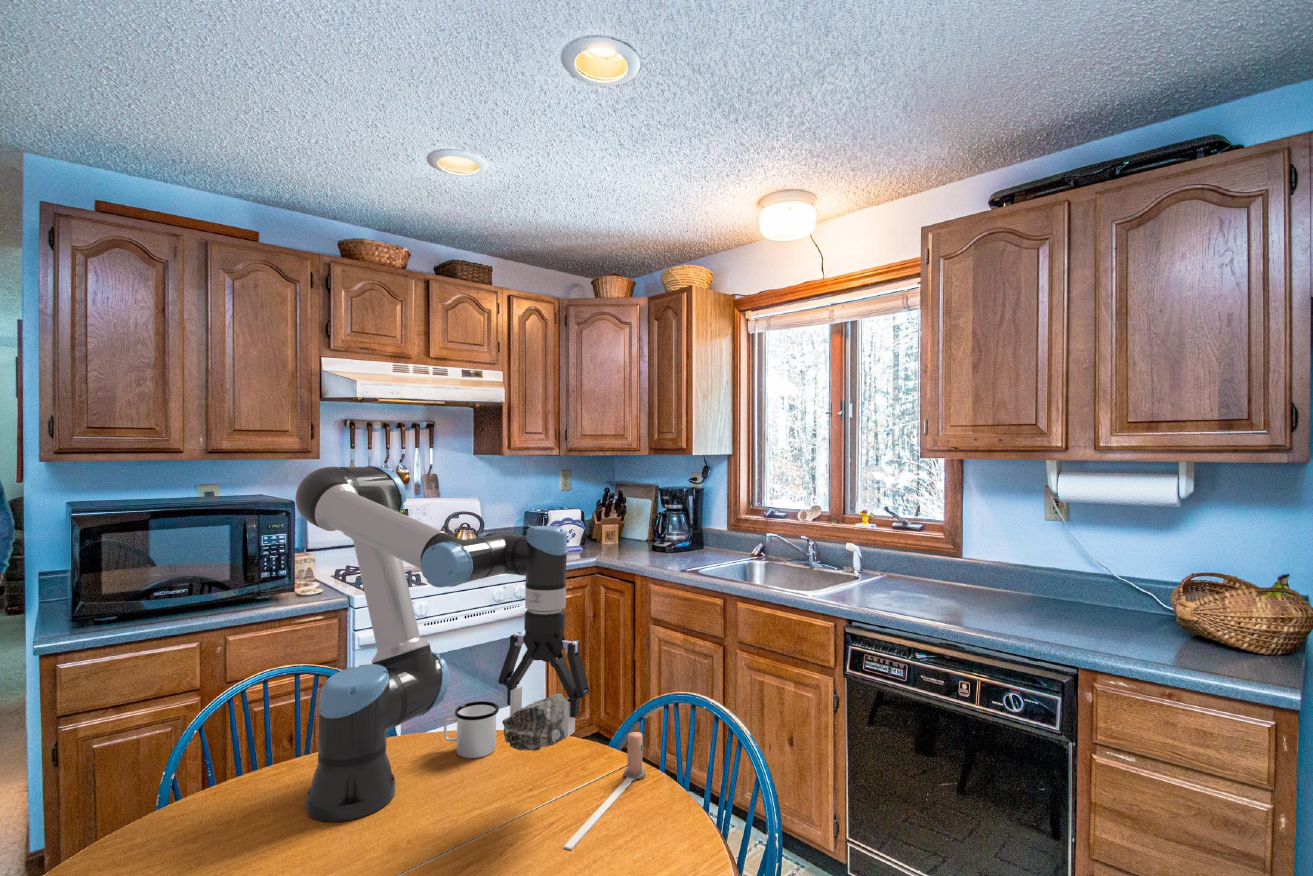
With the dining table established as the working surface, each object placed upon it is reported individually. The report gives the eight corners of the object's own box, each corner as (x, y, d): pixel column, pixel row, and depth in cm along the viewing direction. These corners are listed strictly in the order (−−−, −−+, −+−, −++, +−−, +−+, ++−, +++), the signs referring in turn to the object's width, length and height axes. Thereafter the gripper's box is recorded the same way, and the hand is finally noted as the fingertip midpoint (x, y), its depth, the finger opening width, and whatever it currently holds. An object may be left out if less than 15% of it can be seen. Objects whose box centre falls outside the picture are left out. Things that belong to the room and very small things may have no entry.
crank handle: (556, 846, 107) (556, 796, 107) (629, 768, 135) (629, 729, 135) (579, 852, 105) (580, 802, 106) (648, 772, 133) (649, 732, 133)
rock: (563, 750, 111) (528, 703, 112) (520, 784, 111) (486, 736, 112) (586, 711, 129) (555, 670, 130) (549, 740, 129) (519, 699, 130)
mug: (503, 742, 147) (504, 701, 147) (490, 761, 137) (491, 718, 138) (452, 740, 148) (453, 700, 148) (435, 759, 138) (436, 716, 139)
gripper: (481, 607, 122) (477, 725, 121) (591, 621, 113) (588, 748, 112) (504, 599, 129) (501, 711, 128) (610, 612, 120) (607, 731, 119)
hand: (541, 728), depth 120 cm, fingers closed on rock, 11 cm apart
